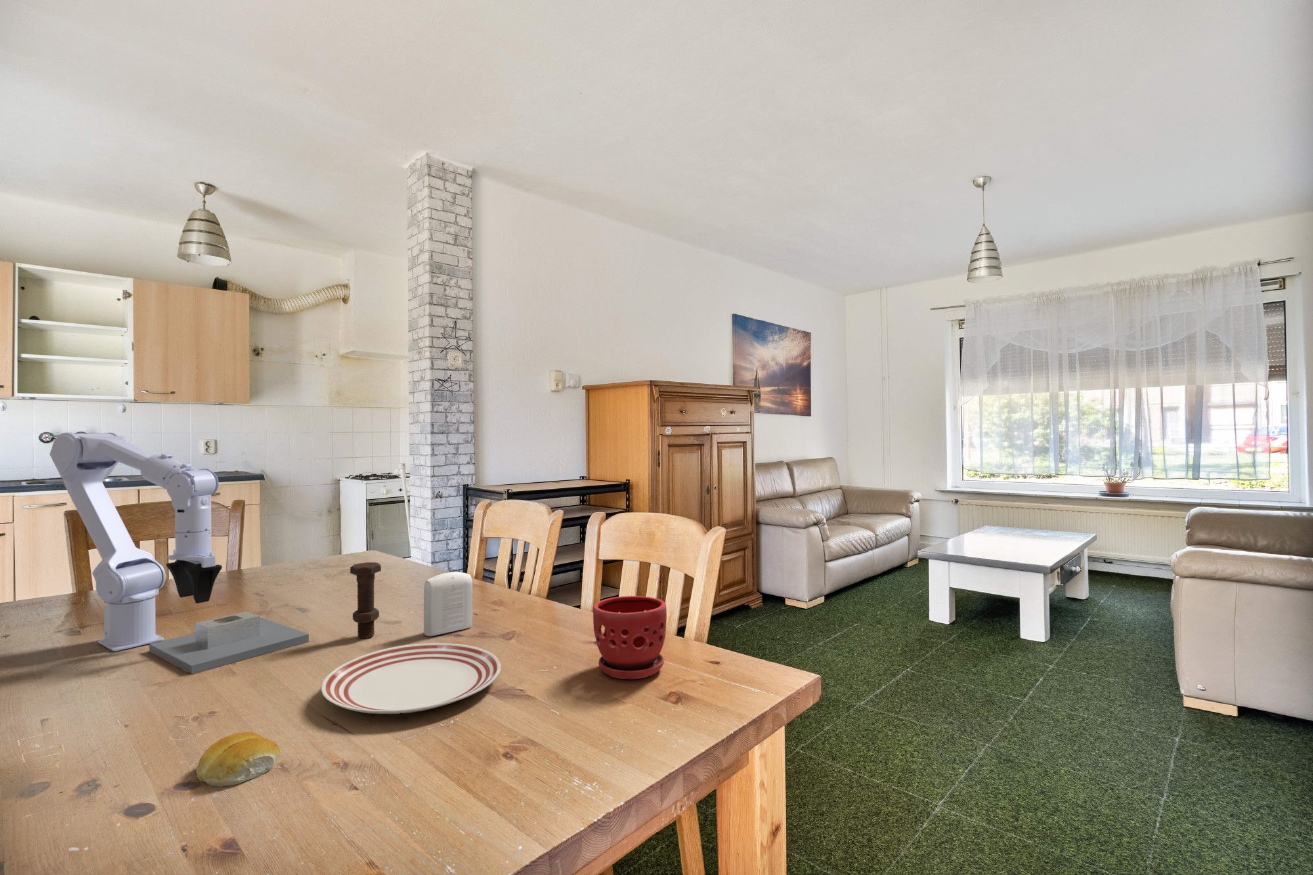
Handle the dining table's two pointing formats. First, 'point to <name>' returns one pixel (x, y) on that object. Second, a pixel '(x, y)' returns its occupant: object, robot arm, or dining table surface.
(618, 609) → the plant pot
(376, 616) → the bolt
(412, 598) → the dining table surface
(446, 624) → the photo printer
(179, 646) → the pin board
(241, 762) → the bread roll
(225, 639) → the block with square hole
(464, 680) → the dinner plate
